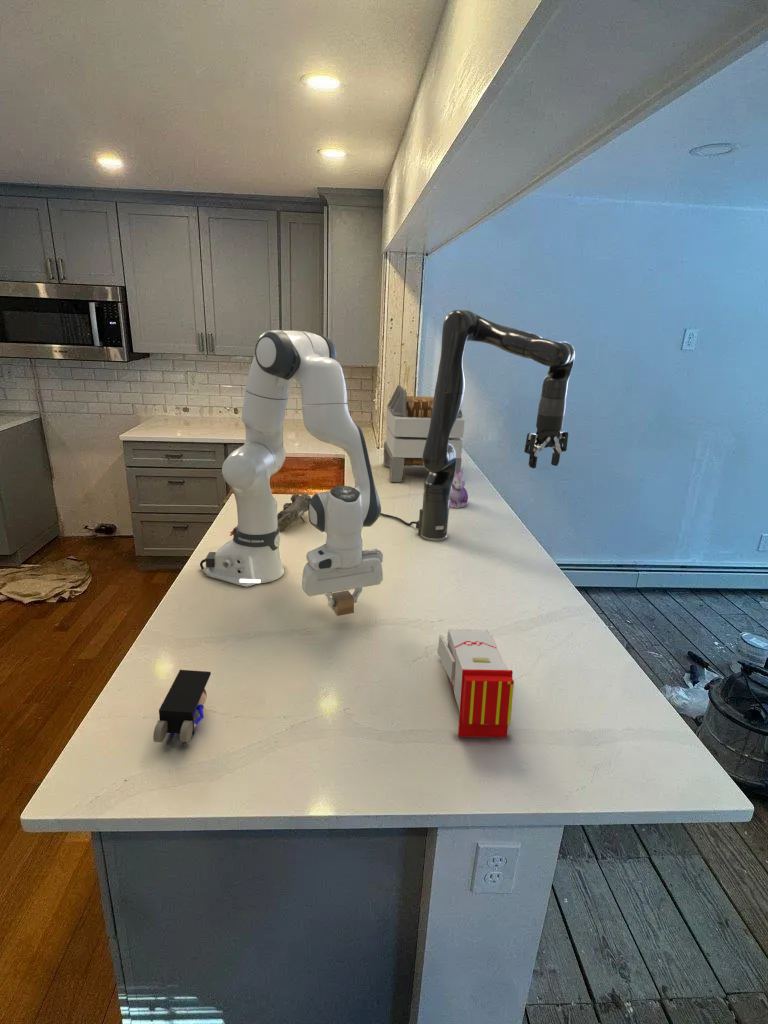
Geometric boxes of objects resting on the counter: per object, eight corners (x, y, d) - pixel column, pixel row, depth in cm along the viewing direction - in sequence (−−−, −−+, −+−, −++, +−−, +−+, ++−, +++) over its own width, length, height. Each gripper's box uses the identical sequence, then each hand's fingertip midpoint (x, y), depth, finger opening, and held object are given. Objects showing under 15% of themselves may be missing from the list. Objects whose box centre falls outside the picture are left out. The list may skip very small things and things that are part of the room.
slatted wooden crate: (382, 463, 289) (386, 382, 275) (445, 464, 293) (451, 384, 279) (390, 482, 257) (394, 392, 243) (460, 483, 261) (468, 394, 247)
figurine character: (193, 760, 99) (215, 697, 113) (188, 728, 96) (211, 667, 109) (154, 759, 99) (181, 696, 113) (148, 727, 96) (176, 666, 109)
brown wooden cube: (354, 613, 141) (354, 598, 140) (337, 616, 139) (337, 601, 138) (347, 604, 145) (348, 590, 143) (331, 607, 143) (331, 593, 142)
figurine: (454, 509, 226) (458, 473, 221) (440, 502, 235) (443, 467, 229) (474, 507, 230) (477, 471, 225) (459, 499, 239) (463, 465, 234)
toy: (488, 613, 130) (523, 677, 101) (484, 667, 133) (517, 744, 104) (435, 612, 130) (455, 676, 101) (432, 666, 133) (451, 743, 103)
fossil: (280, 499, 216) (309, 478, 211) (296, 518, 219) (326, 498, 214) (263, 525, 196) (295, 503, 191) (282, 546, 199) (314, 524, 194)
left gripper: (377, 543, 144) (375, 591, 148) (299, 554, 135) (300, 605, 140) (388, 552, 138) (385, 603, 143) (307, 564, 130) (307, 617, 135)
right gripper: (560, 409, 172) (552, 461, 177) (523, 411, 166) (516, 465, 171) (578, 414, 166) (570, 467, 171) (540, 416, 159) (533, 471, 165)
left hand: (342, 604), depth 142 cm, fingers closed on brown wooden cube, 4 cm apart
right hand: (543, 466), depth 171 cm, fingers open, 8 cm apart
